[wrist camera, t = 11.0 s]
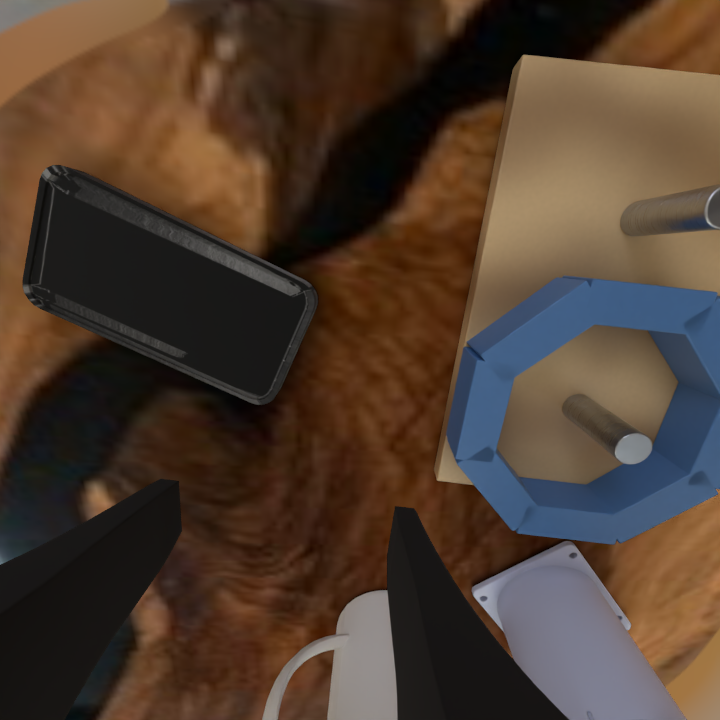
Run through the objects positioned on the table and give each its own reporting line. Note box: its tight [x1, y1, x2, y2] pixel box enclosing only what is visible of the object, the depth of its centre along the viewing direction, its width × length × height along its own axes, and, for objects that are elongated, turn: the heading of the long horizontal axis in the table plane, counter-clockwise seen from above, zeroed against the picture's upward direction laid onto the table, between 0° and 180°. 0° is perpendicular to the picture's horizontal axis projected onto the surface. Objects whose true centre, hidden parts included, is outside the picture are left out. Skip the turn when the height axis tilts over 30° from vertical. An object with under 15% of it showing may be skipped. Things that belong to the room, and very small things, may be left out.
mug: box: [262, 590, 398, 720], centre depth 21 cm, size 12×8×10 cm, turn 55°
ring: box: [446, 275, 720, 545], centre depth 18 cm, size 14×14×3 cm
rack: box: [434, 55, 720, 485], centre depth 16 cm, size 22×14×6 cm, turn 174°
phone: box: [23, 165, 318, 405], centre depth 19 cm, size 8×1×15 cm
